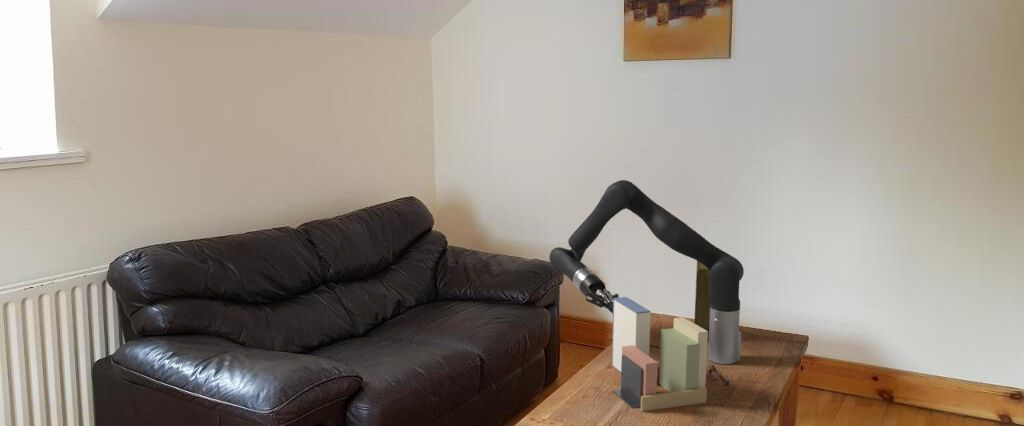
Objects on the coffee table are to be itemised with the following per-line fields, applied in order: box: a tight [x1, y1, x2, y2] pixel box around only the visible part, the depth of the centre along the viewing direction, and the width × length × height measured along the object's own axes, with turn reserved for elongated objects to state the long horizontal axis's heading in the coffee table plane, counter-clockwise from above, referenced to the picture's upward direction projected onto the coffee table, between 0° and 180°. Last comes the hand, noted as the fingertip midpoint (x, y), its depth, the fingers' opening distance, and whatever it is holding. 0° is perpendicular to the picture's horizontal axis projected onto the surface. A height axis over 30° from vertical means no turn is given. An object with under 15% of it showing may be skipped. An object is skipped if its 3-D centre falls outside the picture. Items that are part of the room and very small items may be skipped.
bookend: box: [612, 355, 643, 409], centre depth 242 cm, size 3×12×11 cm, turn 18°
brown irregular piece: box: [706, 364, 731, 386], centre depth 257 cm, size 2×8×4 cm, turn 33°
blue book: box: [611, 296, 651, 374], centre depth 261 cm, size 5×16×22 cm, turn 18°
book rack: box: [622, 316, 708, 412], centre depth 243 cm, size 21×16×20 cm
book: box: [693, 260, 710, 340], centre depth 300 cm, size 16×6×25 cm, turn 168°
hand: (616, 312), depth 270 cm, fingers closed
